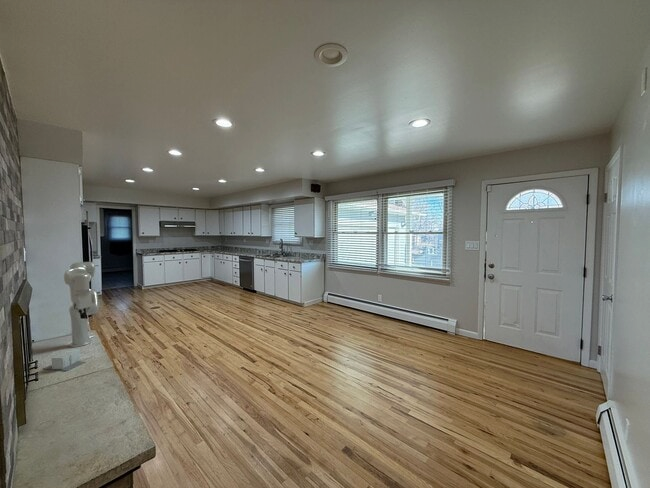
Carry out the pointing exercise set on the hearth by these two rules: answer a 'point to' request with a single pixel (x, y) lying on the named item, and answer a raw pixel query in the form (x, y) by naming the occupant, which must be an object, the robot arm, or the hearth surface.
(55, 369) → the mat
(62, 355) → the supplement box
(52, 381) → the hearth surface
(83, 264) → the robot arm
